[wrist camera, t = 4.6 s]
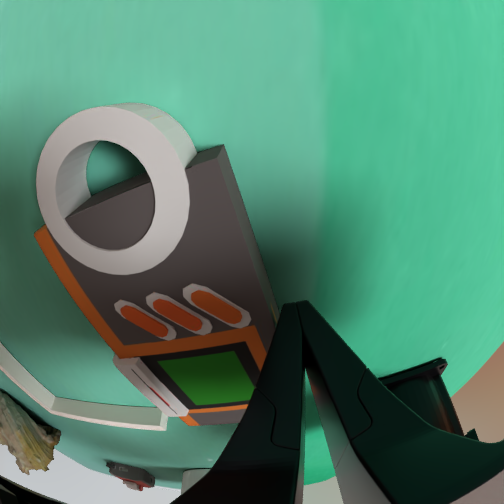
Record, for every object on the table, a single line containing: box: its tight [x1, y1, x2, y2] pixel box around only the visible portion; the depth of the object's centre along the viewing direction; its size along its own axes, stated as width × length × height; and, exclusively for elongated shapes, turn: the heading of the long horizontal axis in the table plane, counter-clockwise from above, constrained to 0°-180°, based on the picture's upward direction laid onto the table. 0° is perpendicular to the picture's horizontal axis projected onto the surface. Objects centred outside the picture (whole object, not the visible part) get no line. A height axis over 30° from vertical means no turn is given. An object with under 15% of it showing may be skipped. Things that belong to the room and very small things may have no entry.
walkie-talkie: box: [106, 462, 155, 491], centre depth 37 cm, size 9×4×20 cm
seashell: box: [0, 391, 61, 475], centre depth 19 cm, size 11×14×10 cm
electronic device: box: [34, 103, 280, 426], centre depth 10 cm, size 7×3×15 cm
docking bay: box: [0, 342, 168, 431], centre depth 11 cm, size 12×23×2 cm, turn 11°
